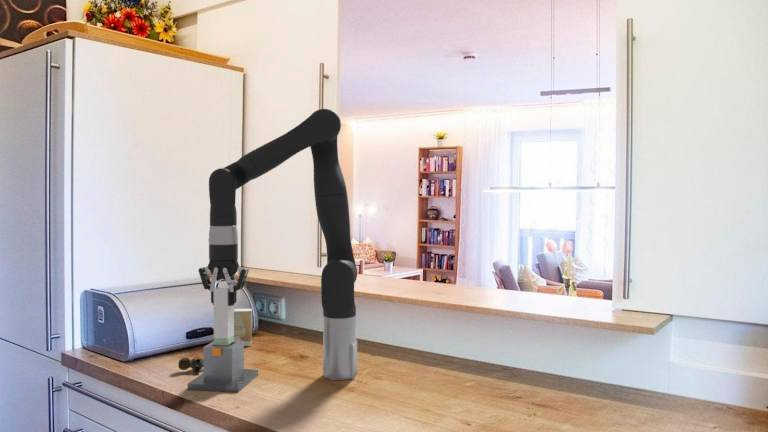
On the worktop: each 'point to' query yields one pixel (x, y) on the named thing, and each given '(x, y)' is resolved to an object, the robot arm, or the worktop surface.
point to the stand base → (223, 369)
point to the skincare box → (243, 325)
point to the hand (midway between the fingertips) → (223, 304)
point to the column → (223, 317)
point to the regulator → (192, 364)
